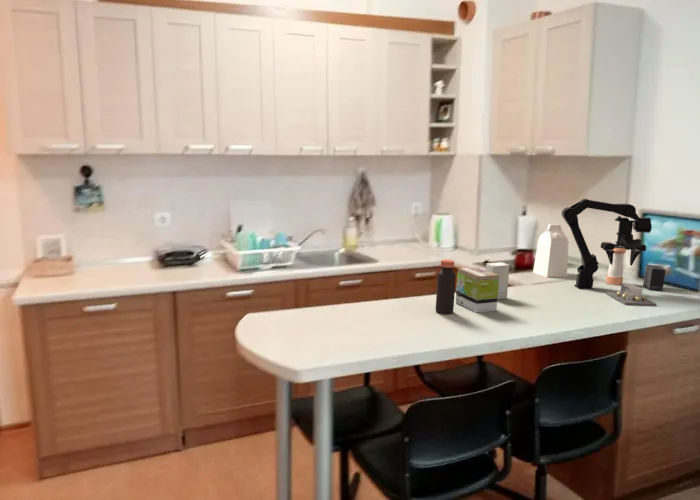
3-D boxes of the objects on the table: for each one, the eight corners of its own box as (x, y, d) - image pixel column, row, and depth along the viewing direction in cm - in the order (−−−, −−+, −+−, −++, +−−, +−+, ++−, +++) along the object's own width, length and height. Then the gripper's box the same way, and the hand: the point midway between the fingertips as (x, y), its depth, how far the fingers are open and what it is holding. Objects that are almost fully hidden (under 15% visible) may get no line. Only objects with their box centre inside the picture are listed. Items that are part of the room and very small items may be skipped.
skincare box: (499, 295, 257) (502, 261, 254) (507, 299, 251) (510, 264, 249) (482, 296, 254) (485, 262, 251) (490, 300, 248) (493, 265, 246)
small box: (663, 291, 277) (666, 269, 275) (648, 290, 278) (651, 268, 277) (657, 286, 287) (659, 265, 285) (642, 285, 289) (645, 264, 287)
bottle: (449, 315, 223) (452, 263, 219) (432, 312, 226) (435, 260, 223) (456, 311, 229) (459, 260, 225) (439, 308, 232) (442, 258, 229)
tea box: (454, 303, 241) (456, 267, 239) (474, 301, 245) (477, 266, 243) (476, 313, 228) (478, 275, 225) (497, 311, 232) (500, 274, 229)
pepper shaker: (606, 283, 288) (610, 245, 285) (605, 281, 295) (610, 243, 292) (622, 285, 286) (627, 246, 282) (622, 282, 292) (626, 244, 289)
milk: (552, 271, 313) (557, 222, 309) (566, 276, 303) (571, 225, 298) (533, 272, 310) (537, 223, 305) (546, 277, 299) (551, 226, 294)
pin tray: (625, 304, 249) (625, 298, 248) (606, 294, 266) (607, 288, 266) (655, 305, 249) (656, 299, 248) (635, 295, 267) (635, 289, 266)
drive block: (629, 300, 253) (630, 288, 252) (620, 295, 262) (621, 283, 261) (641, 300, 253) (642, 289, 252) (631, 295, 262) (632, 284, 261)
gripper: (612, 233, 263) (608, 267, 265) (654, 234, 263) (650, 269, 266) (601, 229, 274) (598, 263, 276) (641, 231, 274) (637, 264, 277)
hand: (621, 264), depth 273 cm, fingers open, 9 cm apart
